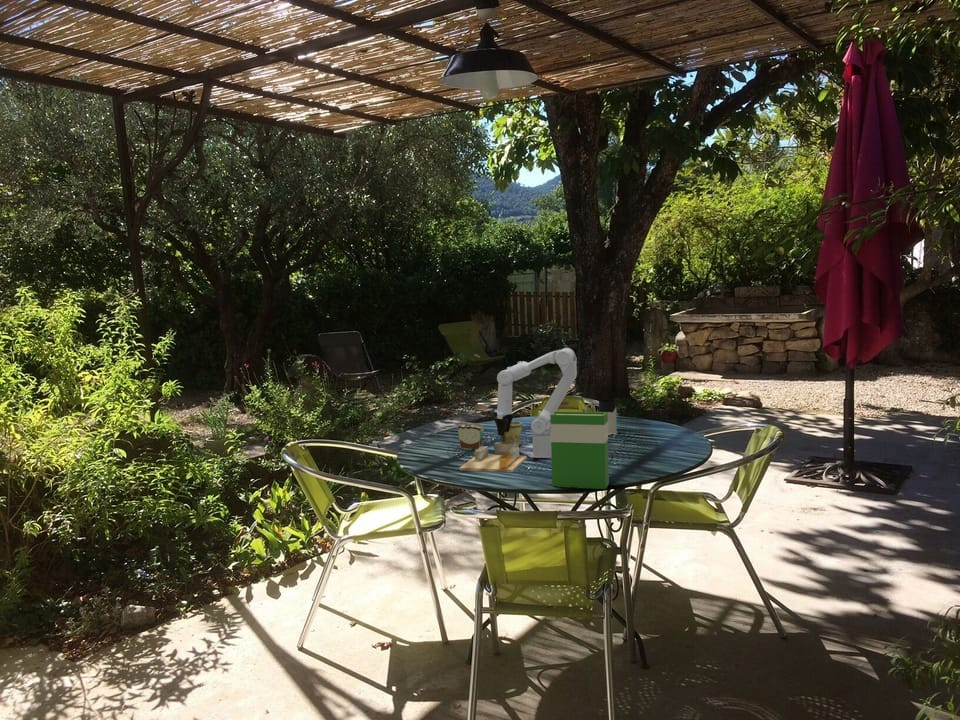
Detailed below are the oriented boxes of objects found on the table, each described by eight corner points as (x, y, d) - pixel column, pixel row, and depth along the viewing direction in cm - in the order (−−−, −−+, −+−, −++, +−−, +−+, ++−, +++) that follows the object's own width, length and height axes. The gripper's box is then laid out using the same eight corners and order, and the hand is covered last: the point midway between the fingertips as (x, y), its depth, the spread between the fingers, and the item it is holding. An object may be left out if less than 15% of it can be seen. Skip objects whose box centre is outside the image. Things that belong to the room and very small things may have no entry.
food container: (489, 447, 317) (489, 424, 317) (482, 450, 312) (481, 426, 311) (464, 445, 324) (464, 422, 323) (457, 448, 318) (456, 424, 318)
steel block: (516, 454, 302) (515, 442, 302) (513, 456, 299) (513, 444, 298) (497, 454, 305) (496, 441, 304) (494, 456, 301) (494, 443, 300)
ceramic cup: (521, 449, 312) (520, 425, 311) (497, 449, 314) (496, 425, 313) (525, 442, 325) (524, 419, 324) (502, 442, 327) (501, 419, 326)
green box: (552, 486, 250) (550, 414, 248) (556, 481, 257) (555, 411, 255) (605, 489, 245) (604, 415, 243) (608, 483, 252) (607, 412, 250)
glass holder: (619, 435, 334) (618, 402, 332) (587, 436, 334) (586, 403, 333) (616, 432, 342) (615, 399, 341) (584, 433, 343) (584, 400, 341)
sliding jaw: (519, 456, 293) (519, 447, 292) (506, 467, 274) (505, 458, 273) (513, 455, 293) (512, 447, 293) (499, 467, 274) (499, 458, 274)
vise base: (526, 458, 294) (526, 446, 294) (512, 472, 272) (511, 459, 272) (477, 457, 300) (477, 445, 299) (459, 470, 278) (459, 457, 277)
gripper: (499, 396, 308) (498, 429, 309) (490, 401, 294) (488, 436, 295) (516, 398, 306) (515, 431, 307) (507, 403, 292) (506, 437, 293)
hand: (503, 433), depth 301 cm, fingers open, 7 cm apart
